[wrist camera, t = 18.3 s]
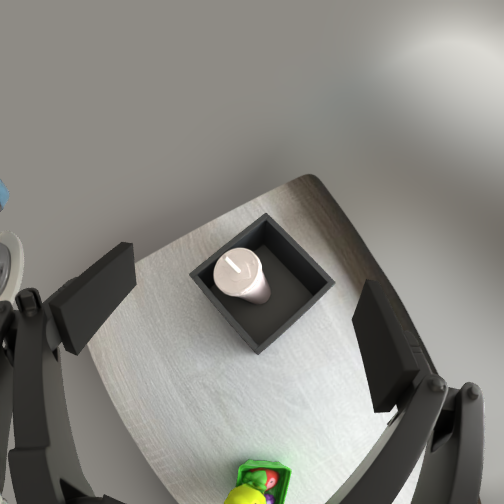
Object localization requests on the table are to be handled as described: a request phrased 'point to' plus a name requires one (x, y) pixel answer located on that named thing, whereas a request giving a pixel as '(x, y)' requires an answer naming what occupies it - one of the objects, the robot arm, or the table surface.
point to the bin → (279, 280)
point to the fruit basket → (260, 483)
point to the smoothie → (242, 276)
